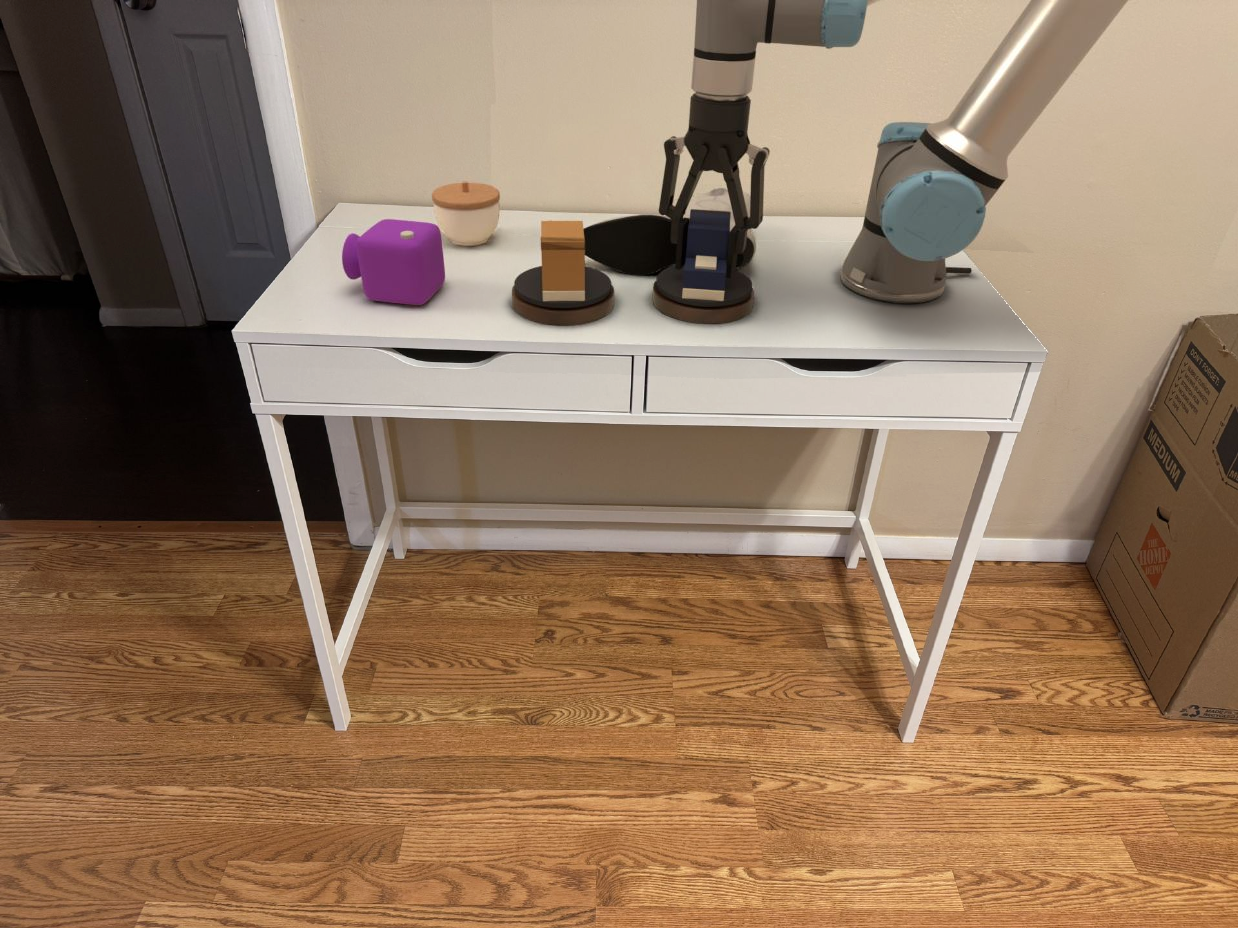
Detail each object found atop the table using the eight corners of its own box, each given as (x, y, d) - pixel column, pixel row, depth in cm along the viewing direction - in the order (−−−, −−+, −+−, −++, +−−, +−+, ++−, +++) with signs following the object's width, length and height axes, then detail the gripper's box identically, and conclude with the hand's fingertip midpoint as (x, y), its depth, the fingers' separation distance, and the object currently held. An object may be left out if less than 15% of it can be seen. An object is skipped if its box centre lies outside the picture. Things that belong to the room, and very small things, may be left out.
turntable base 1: (610, 282, 125) (610, 269, 124) (617, 325, 113) (617, 311, 112) (513, 282, 124) (513, 270, 122) (510, 326, 112) (510, 312, 111)
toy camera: (358, 276, 124) (346, 210, 118) (449, 278, 124) (443, 212, 118) (337, 307, 115) (324, 237, 110) (436, 309, 115) (428, 239, 110)
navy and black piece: (660, 265, 125) (663, 205, 119) (751, 271, 123) (758, 211, 118) (652, 303, 114) (655, 239, 108) (752, 310, 112) (760, 246, 107)
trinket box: (426, 235, 139) (419, 178, 133) (484, 224, 144) (480, 169, 138) (453, 256, 131) (447, 196, 126) (513, 244, 136) (510, 186, 131)
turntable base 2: (742, 281, 126) (743, 268, 125) (762, 323, 114) (764, 310, 113) (647, 282, 125) (648, 269, 124) (658, 324, 113) (659, 311, 112)
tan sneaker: (614, 308, 112) (616, 243, 107) (513, 309, 111) (509, 243, 106) (608, 268, 123) (609, 208, 118) (515, 269, 122) (512, 208, 117)
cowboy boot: (760, 235, 120) (765, 185, 140) (574, 204, 122) (606, 159, 142) (747, 296, 125) (754, 239, 146) (569, 265, 128) (601, 213, 148)
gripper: (804, 96, 104) (779, 271, 117) (656, 81, 109) (648, 250, 122) (792, 108, 98) (767, 291, 111) (637, 92, 103) (630, 268, 117)
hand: (705, 269), depth 117 cm, fingers closed on navy and black piece, 7 cm apart
